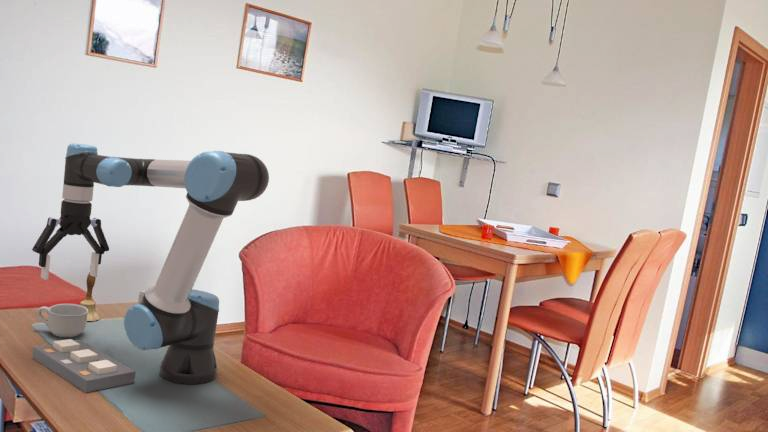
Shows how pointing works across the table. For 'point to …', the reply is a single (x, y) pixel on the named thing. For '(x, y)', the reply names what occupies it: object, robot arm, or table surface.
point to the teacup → (65, 319)
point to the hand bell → (88, 302)
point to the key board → (82, 368)
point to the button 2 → (102, 367)
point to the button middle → (83, 356)
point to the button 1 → (66, 346)
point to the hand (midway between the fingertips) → (69, 277)
